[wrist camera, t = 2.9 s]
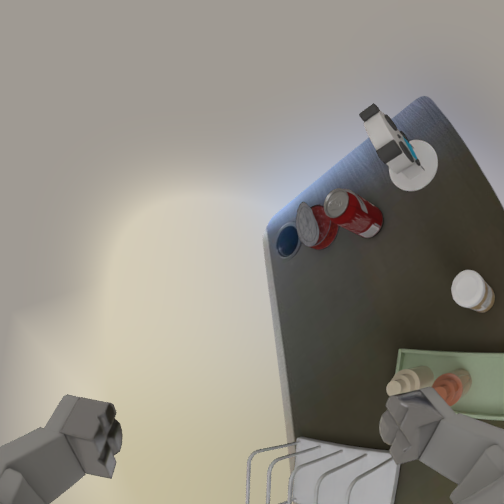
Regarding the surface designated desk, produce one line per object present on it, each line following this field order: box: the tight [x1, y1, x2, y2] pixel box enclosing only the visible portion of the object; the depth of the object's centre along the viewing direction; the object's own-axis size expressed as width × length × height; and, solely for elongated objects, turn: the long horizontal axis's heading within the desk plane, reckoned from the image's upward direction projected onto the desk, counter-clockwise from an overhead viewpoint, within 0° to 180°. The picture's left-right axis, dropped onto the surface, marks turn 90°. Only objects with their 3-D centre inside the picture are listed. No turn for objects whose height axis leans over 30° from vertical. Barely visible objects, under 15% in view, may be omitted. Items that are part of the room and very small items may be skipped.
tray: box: [395, 349, 504, 421], centre depth 36 cm, size 23×10×2 cm, turn 78°
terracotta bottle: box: [432, 368, 472, 406], centre depth 33 cm, size 5×5×11 cm
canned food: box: [296, 202, 339, 250], centre depth 68 cm, size 11×10×10 cm
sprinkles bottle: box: [451, 270, 495, 313], centre depth 33 cm, size 5×5×13 cm
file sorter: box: [246, 437, 400, 504], centre depth 42 cm, size 25×17×16 cm
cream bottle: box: [386, 365, 434, 396], centre depth 39 cm, size 5×5×11 cm
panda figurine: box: [359, 104, 438, 191], centre depth 48 cm, size 12×11×15 cm
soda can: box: [324, 188, 383, 238], centre depth 56 cm, size 7×7×12 cm
